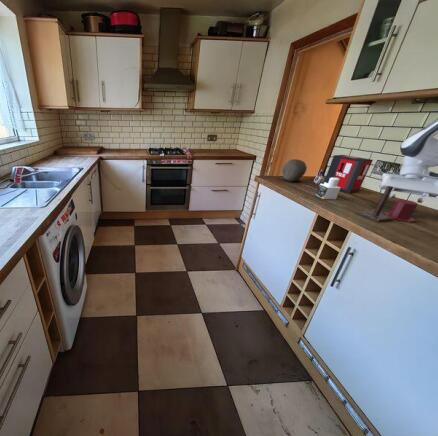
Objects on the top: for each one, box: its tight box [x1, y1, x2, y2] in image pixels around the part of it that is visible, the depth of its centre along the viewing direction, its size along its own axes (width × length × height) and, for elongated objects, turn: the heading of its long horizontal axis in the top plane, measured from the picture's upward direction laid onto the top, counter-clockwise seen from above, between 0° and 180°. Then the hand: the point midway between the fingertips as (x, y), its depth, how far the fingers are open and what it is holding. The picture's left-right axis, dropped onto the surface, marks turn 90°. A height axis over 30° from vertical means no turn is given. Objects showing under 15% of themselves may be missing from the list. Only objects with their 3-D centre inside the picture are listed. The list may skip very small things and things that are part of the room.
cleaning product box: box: [322, 154, 373, 194], centre depth 144 cm, size 16×9×20 cm, turn 22°
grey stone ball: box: [281, 158, 308, 183], centre depth 158 cm, size 14×14×15 cm
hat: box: [382, 198, 418, 223], centre depth 106 cm, size 10×10×8 cm
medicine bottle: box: [315, 176, 340, 200], centre depth 129 cm, size 7×7×12 cm
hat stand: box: [357, 186, 395, 223], centre depth 104 cm, size 9×9×15 cm
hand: (405, 199), depth 107 cm, fingers open, 8 cm apart
